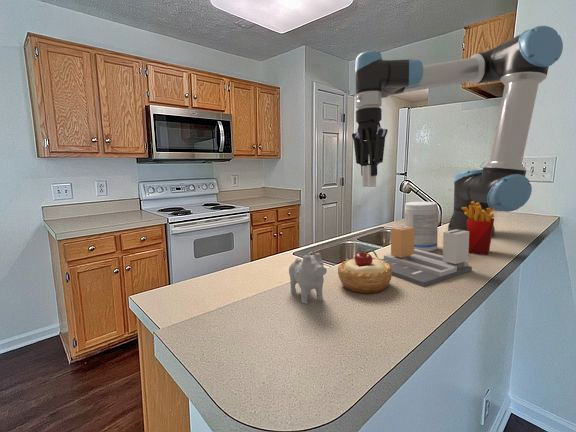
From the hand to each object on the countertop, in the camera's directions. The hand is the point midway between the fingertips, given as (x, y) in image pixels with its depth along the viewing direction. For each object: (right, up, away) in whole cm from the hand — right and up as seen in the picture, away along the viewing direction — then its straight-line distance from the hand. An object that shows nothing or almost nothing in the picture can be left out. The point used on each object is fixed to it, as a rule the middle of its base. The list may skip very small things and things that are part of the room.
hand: (369, 186), depth 101 cm
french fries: (+30, -20, -5) cm, 37 cm away
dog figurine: (-21, -27, -31) cm, 46 cm away
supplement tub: (+17, -20, +2) cm, 26 cm away
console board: (+9, -23, -16) cm, 29 cm away
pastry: (-8, -26, -26) cm, 37 cm away
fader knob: (+6, -21, -12) cm, 25 cm away
